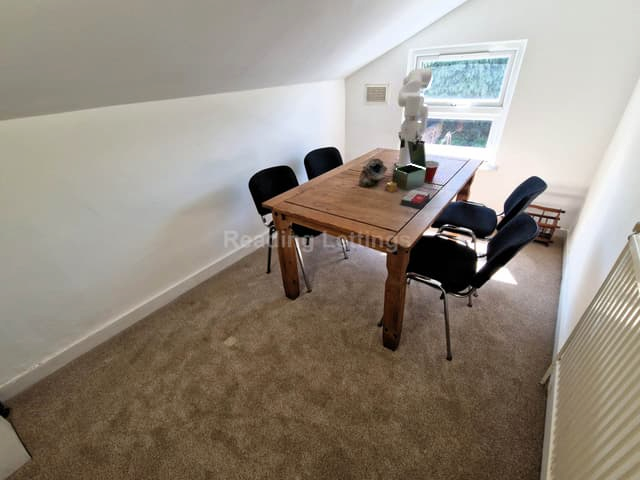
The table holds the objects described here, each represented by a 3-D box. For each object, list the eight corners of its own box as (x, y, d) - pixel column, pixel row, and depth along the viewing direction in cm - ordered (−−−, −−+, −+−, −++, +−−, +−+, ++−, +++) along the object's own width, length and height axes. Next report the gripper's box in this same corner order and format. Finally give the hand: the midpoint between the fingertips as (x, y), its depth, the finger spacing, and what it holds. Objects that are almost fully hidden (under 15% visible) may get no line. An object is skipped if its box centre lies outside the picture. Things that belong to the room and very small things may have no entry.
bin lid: (423, 144, 166) (429, 140, 167) (407, 140, 175) (413, 136, 176) (425, 168, 176) (431, 164, 177) (410, 163, 186) (416, 159, 187)
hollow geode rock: (379, 180, 205) (367, 163, 205) (393, 170, 196) (380, 153, 196) (361, 193, 186) (348, 174, 185) (375, 182, 176) (361, 163, 176)
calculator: (401, 198, 158) (411, 188, 167) (400, 205, 160) (411, 195, 170) (420, 203, 152) (430, 192, 162) (419, 210, 154) (429, 198, 164)
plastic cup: (418, 182, 186) (420, 164, 180) (420, 177, 194) (423, 159, 188) (435, 184, 182) (438, 166, 175) (437, 179, 190) (440, 161, 184)
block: (385, 190, 179) (386, 183, 176) (391, 188, 180) (391, 181, 178) (390, 192, 175) (391, 185, 173) (396, 190, 177) (396, 183, 175)
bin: (406, 190, 176) (408, 174, 170) (391, 184, 185) (393, 168, 179) (423, 185, 182) (426, 168, 177) (409, 179, 192) (411, 163, 186)
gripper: (395, 117, 165) (393, 147, 174) (419, 120, 152) (415, 152, 161) (405, 116, 168) (402, 145, 177) (428, 119, 156) (424, 150, 164)
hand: (408, 149), depth 169 cm, fingers open, 9 cm apart
